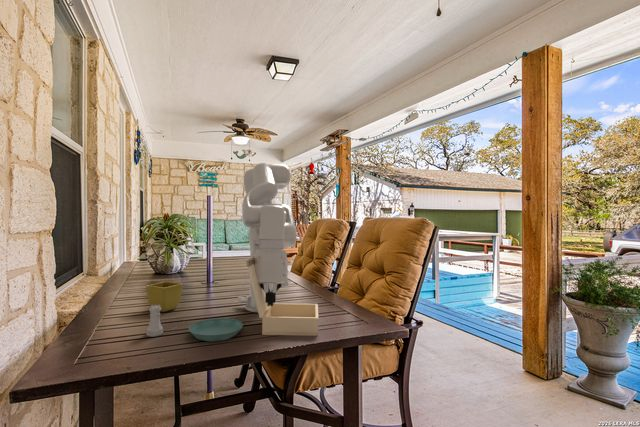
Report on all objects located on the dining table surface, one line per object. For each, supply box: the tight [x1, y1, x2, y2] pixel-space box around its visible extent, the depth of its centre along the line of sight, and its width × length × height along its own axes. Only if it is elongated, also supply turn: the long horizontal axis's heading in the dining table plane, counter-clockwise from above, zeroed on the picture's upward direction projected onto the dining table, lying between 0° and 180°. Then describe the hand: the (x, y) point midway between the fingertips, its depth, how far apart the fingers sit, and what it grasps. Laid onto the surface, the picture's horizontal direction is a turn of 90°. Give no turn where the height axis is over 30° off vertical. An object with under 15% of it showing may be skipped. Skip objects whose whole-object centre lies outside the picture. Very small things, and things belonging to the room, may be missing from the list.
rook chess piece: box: [145, 305, 164, 338], centre depth 97 cm, size 4×4×8 cm
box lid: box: [246, 256, 268, 319], centre depth 106 cm, size 17×16×1 cm
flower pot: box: [145, 281, 184, 313], centre depth 122 cm, size 9×9×9 cm
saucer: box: [188, 317, 244, 342], centre depth 98 cm, size 15×15×3 cm
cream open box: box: [261, 302, 319, 337], centre depth 107 cm, size 16×16×5 cm
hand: (270, 305), depth 106 cm, fingers closed
